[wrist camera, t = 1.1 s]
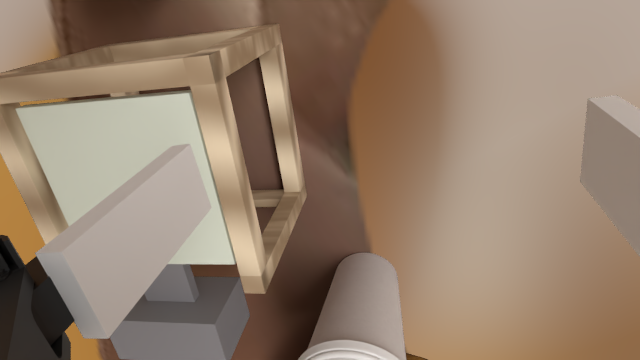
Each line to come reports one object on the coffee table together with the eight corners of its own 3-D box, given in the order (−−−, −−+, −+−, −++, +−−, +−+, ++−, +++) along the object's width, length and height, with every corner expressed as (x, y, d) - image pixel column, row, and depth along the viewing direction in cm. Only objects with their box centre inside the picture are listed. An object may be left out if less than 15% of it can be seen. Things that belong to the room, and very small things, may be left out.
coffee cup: (326, 309, 47) (295, 441, 34) (317, 238, 43) (279, 358, 30) (412, 314, 45) (416, 456, 32) (412, 240, 41) (416, 369, 28)
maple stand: (108, 44, 38) (-35, 82, 25) (278, 23, 34) (208, 55, 22) (160, 200, 45) (67, 289, 32) (306, 195, 41) (265, 293, 29)
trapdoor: (49, 96, 29) (-15, 119, 24) (209, 80, 26) (170, 103, 22) (138, 311, 37) (103, 357, 33) (266, 315, 35) (247, 366, 30)
